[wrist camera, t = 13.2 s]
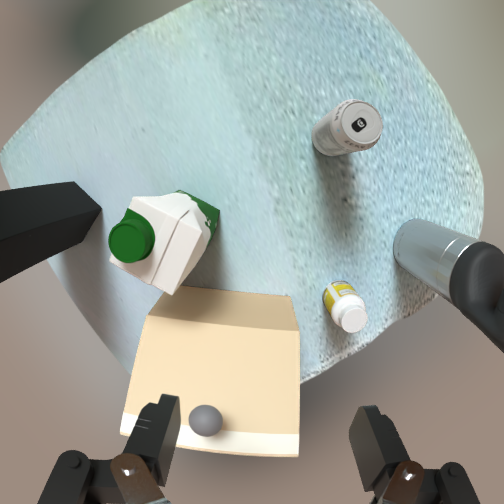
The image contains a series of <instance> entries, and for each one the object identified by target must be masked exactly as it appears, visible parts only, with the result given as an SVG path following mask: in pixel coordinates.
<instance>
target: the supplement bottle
mask: <svg viewBox="0 0 504 504" xmlns="http://www.w3.org/2000/svg"><path fill="white" fill-rule="evenodd" d="M322 298H323V302H324V304H325V306H326V308H327V310H328V312H329V314H330V315H331V317H332V319H333V321H334V322H335V324H337V325H338V326H340V327H342V328H343V329H344V330H345V331H346V332H349V333H355V332H358V331H360V330H361V329H363V328H364V326H365V325H366V323H367V319H368V317H367V313H366V307H365V303H364V301H363V300H362V299H361V297H360V296H359V295H358V294H357V292H356V291H355V290H354V289H353V288H352V286H351V285H350V284H349V283H347V282H346V281H343V280H335V281H333V282H331V283H329V284H328V285H327V286H326V287H325V289H324V291H323V295H322Z"/></svg>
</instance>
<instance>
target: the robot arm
mask: <svg viewBox="0 0 504 504" xmlns="http://www.w3.org/2000/svg"><path fill="white" fill-rule="evenodd" d="M393 250H394V256H395V259H396V261H397V263H398V264H399V265H400V266H401V267H403V268H404V269H405V270H407V271H408V272H410V273H411V274H412V275H414V276H415V277H416V278H418V279H419V280H420V281H422V282H423V283H424V284H426V285H427V286H429V287H430V288H431V289H433V290H434V291H435V292H437V293H438V294H439V295H441V296H442V297H443V298H444V299H446V300H447V301H449V302H450V303H451V304H453V305H454V306H455V307H457V308H458V309H459V310H460V311H461V312H462V314H463V315H464V316H465V317H466V318H468V319H469V320H470V321H471V322H472V323H474V324H475V325H476V326H477V327H478V328H479V329H480V330H481V331H482V332H483V333H484V334H485V335H486V336H487V337H488V338H489V339H490V340H491V341H492V342H493V343H494V344H495V345H496V346H497V347H498V348H499V349H500V350H501V351H502V352H503V353H504V254H503V253H502V251H501V250H500V249H499V248H497V247H495V246H494V245H491V244H489V243H486V242H483V241H480V240H478V239H476V238H473V237H470V236H467V235H465V234H462V233H459V232H457V231H454V230H451V229H448V228H446V227H443V226H440V225H437V224H435V223H432V222H429V221H426V220H423V219H412V220H409V221H408V222H406V223H405V224H403V225H402V226H401V228H400V229H399V230H398V232H397V234H396V236H395V240H394V245H393ZM180 426H181V413H180V399H179V396H174V395H169V394H161V397H160V399H159V402H158V404H156V403H151V402H149V403H148V404H147V405H146V406H144V407H143V408H142V409H141V411H140V414H139V416H138V419H137V420H136V423H135V426H134V427H133V430H132V432H131V434H130V437H129V439H128V441H127V444H126V446H125V449H124V451H123V453H121V454H120V455H117V456H116V457H114V458H113V459H111V460H93V459H92V460H91V459H88V457H87V456H86V455H85V454H84V453H82V452H80V451H76V450H69V451H66V452H64V453H62V454H61V455H60V456H59V458H58V460H57V462H56V464H55V466H54V468H53V470H52V472H51V474H50V477H49V479H48V481H47V483H46V485H45V488H44V490H43V492H42V494H41V496H40V499H39V501H38V503H37V504H106V503H111V504H171V503H170V501H168V500H167V499H166V498H165V496H164V495H163V493H162V491H161V490H160V488H159V486H163V487H165V484H166V481H167V477H168V473H169V469H170V465H171V461H172V458H173V454H174V450H175V446H176V442H177V439H178V435H179V431H180ZM349 440H350V443H351V447H352V450H353V453H354V456H355V459H356V463H357V466H358V470H359V473H360V477H361V480H362V484H363V487H364V491H365V492H368V491H374V494H375V495H374V496H373V498H372V500H371V502H370V503H369V504H480V502H479V500H478V498H477V495H476V493H475V491H474V488H473V486H472V484H471V482H470V480H469V478H468V476H467V474H466V471H465V469H464V468H463V467H462V466H461V465H460V464H458V463H456V462H449V463H446V464H444V465H443V466H442V468H441V469H423V467H422V466H421V465H420V464H419V463H417V462H415V461H411V460H410V458H409V456H408V454H407V451H406V449H405V447H404V445H403V443H402V440H401V438H400V437H399V434H398V432H397V431H396V428H395V426H394V423H393V422H392V421H391V420H390V419H389V418H388V417H387V416H386V415H381V414H380V411H379V409H378V407H377V406H376V405H371V406H361V407H359V408H358V411H357V413H356V415H355V417H354V420H353V422H352V424H351V426H350V429H349ZM158 485H159V486H158Z"/></svg>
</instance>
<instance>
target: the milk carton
mask: <svg viewBox="0 0 504 504" xmlns="http://www.w3.org/2000/svg"><path fill="white" fill-rule="evenodd" d="M219 211H220V210H218V209H217V208H215V207H213V206H211V205H209V204H208V203H206V202H204V201H202V200H200V199H198V198H196V197H194V196H192V195H190V194H188V193H186V192H183V191H181V190H178V191H176V192H174V193H172V194H168V195H164V196H151V197H133V199H132V201H131V204H130V206H129V208H127V211H126V213H125V216H124V218H123V219H122V220H121V222H120V223H119V224H117V225H116V226H114V227H113V228H112V230H111V232H110V234H109V239H108V242H109V248H110V250H111V252H112V254H111V257H110V262H111V263H113V264H114V265H116V266H118V267H119V268H121V269H123V270H125V271H126V272H128V273H130V274H132V275H133V276H135V277H137V278H139V279H140V280H141V281H143V282H145V283H147V284H149V285H153V286H155V287H157V288H159V289H161V290H163V291H164V292H166V293H168V294H170V295H173V294H174V292H175V291H176V290H177V288H178V287H179V286H180V285H181V283H182V282H183V281H184V279H185V278H186V277H187V276H188V274H189V273H190V272H191V271H192V269H193V268H194V267H195V265H196V264H197V262H198V261H199V259H200V258H201V256H202V254H203V253H204V251H205V250H206V248H207V247H208V245H209V243H210V241H211V239H212V236H213V234H214V232H215V229H216V225H217V221H218V216H219Z"/></svg>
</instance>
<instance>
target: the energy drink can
mask: <svg viewBox="0 0 504 504" xmlns="http://www.w3.org/2000/svg"><path fill="white" fill-rule="evenodd" d="M382 128H383V123H382V118H381V116H380V114H379V112H378V111H377V110H376V108H375V107H373V106H372V105H371V104H369V103H367V102H364V101H361V100H357V99H350V100H346V101H343V102H342V103H340V104H339V105H338V106H336V107H335V108H334V109H333V110H331V111H330V112H329V113H328V114H326V115H325V116H324V117H323V118H321V119H320V120H319V121H318V122H317V123H316V124H315V125H314V127H313V129H312V134H311V136H312V142H313V144H314V146H315V147H316V149H317V150H318V151H319V152H321V153H322V154H325V155H328V156H337V155H342V154H347V153H352V152H357V151H363V150H367V149H369V148H371V147H373V146H374V145H375V144H376V143H377V142H378V140H379V138H380V135H381V132H382Z"/></svg>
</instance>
